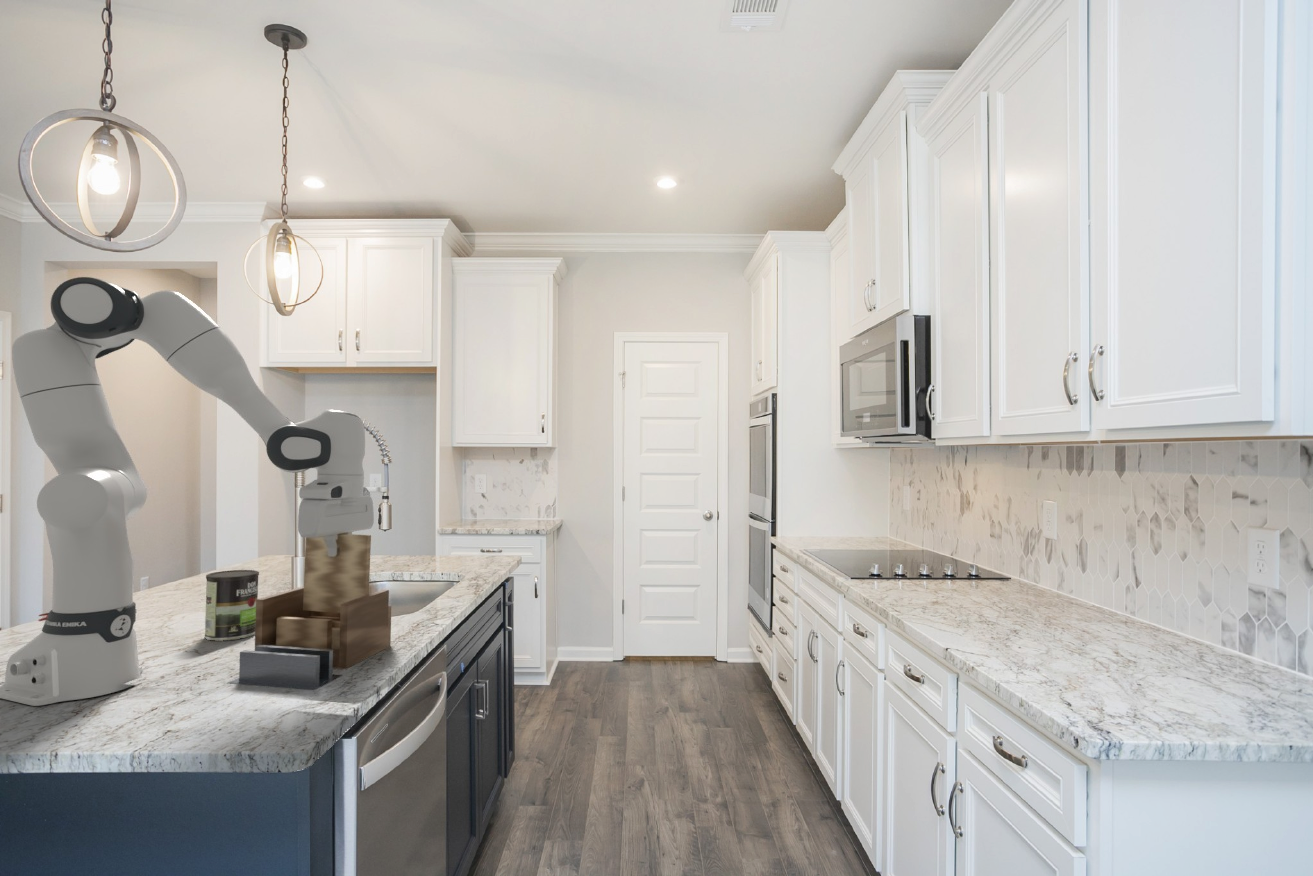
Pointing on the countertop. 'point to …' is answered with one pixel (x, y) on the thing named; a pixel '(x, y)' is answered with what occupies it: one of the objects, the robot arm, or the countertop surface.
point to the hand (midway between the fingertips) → (337, 555)
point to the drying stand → (286, 667)
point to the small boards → (308, 632)
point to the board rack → (359, 620)
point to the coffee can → (231, 604)
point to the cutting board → (336, 572)
